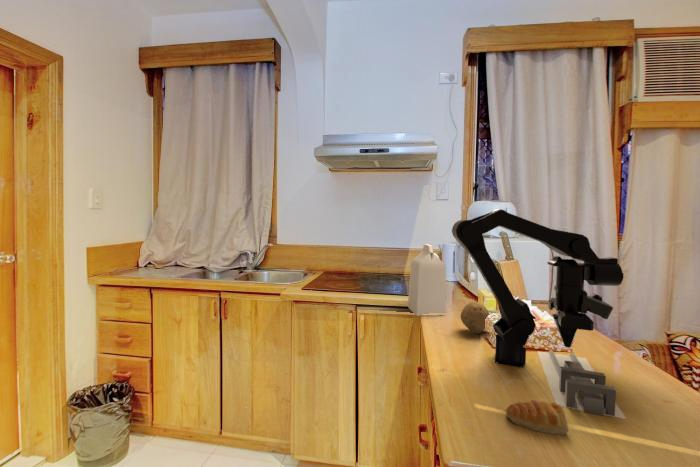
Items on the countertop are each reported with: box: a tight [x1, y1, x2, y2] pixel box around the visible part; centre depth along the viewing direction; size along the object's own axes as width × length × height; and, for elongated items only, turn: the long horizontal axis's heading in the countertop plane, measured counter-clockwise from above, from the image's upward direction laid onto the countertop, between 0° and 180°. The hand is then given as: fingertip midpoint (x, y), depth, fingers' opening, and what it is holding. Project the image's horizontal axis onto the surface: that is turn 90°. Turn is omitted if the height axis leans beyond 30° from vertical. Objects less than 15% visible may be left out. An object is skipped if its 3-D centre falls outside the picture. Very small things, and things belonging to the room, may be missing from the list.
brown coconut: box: [460, 301, 491, 334], centre depth 107 cm, size 9×9×10 cm
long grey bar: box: [564, 361, 604, 416], centre depth 70 cm, size 3×17×3 cm, turn 158°
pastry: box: [505, 399, 569, 436], centre depth 61 cm, size 9×7×4 cm
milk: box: [407, 243, 448, 317], centre depth 131 cm, size 12×12×26 cm
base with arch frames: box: [536, 349, 627, 420], centre depth 76 cm, size 11×28×5 cm, turn 157°
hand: (567, 346), depth 83 cm, fingers closed
